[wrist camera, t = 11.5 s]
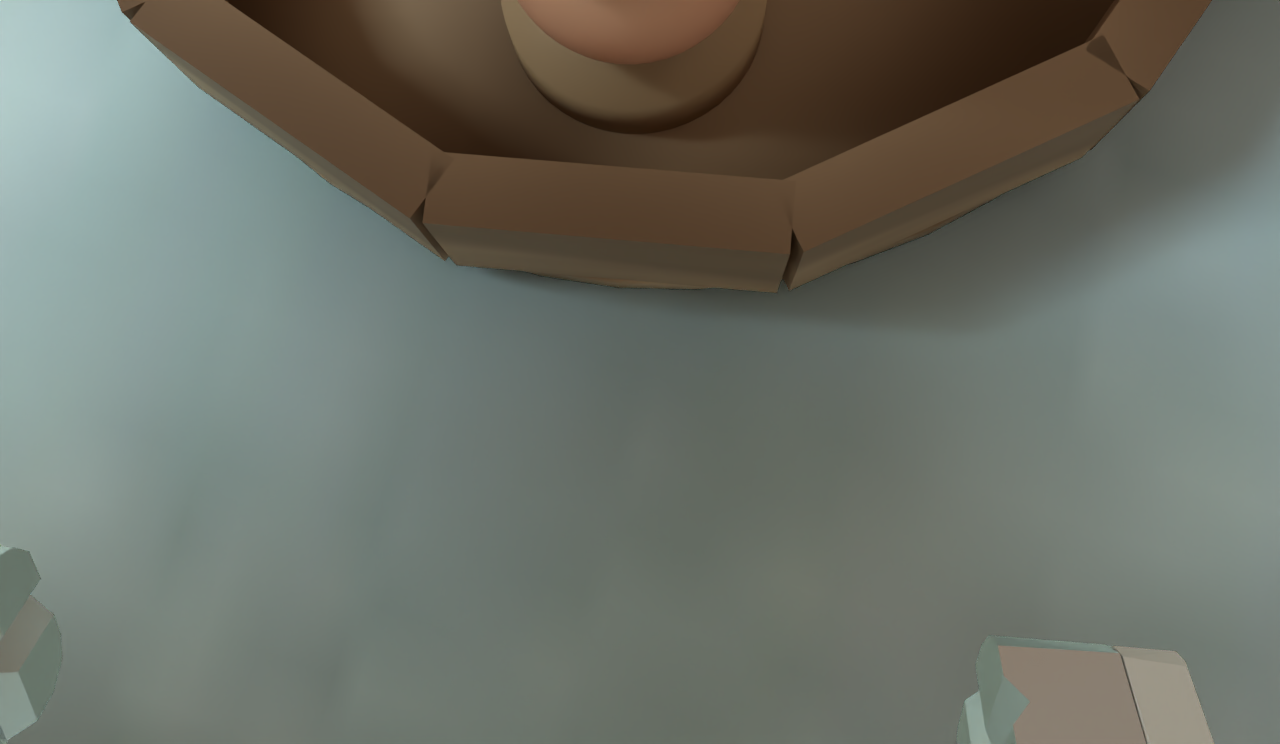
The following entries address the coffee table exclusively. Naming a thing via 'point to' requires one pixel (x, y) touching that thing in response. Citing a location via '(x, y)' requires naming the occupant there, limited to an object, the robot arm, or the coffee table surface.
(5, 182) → the coffee table surface
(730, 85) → the bead column
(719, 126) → the walnut tray
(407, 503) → the coffee table surface
